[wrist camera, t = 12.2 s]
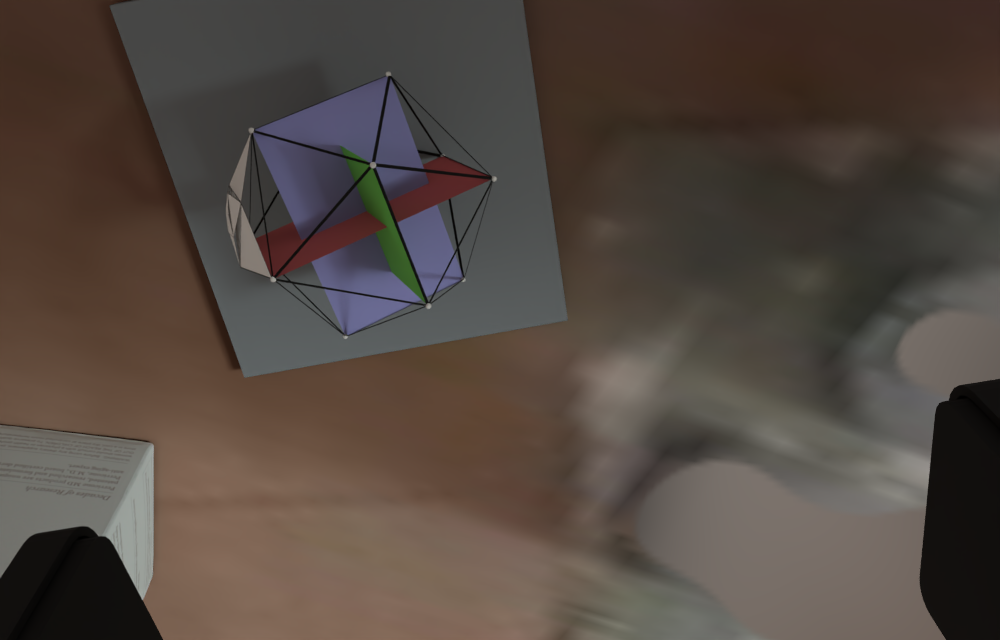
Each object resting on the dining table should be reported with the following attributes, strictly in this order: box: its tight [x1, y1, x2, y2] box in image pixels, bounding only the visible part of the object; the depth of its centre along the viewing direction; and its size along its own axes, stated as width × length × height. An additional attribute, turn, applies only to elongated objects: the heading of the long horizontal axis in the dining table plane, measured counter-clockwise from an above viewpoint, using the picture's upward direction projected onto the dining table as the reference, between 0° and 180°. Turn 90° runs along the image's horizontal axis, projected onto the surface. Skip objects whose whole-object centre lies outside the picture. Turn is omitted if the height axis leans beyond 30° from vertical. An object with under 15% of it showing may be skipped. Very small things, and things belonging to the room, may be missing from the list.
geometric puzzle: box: [226, 72, 497, 339], centre depth 24 cm, size 7×7×8 cm
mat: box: [110, 0, 568, 378], centre depth 27 cm, size 12×13×1 cm
